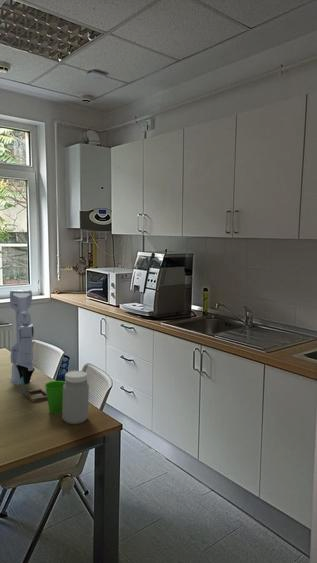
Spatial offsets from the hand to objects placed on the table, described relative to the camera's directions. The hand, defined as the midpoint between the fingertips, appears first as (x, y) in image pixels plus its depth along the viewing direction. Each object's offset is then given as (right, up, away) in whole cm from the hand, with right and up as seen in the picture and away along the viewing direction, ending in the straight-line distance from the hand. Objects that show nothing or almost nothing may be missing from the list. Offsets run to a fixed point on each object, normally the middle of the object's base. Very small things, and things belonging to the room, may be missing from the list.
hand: (25, 382), depth 182 cm
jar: (+27, -9, -24) cm, 38 cm away
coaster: (0, -5, 0) cm, 5 cm away
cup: (+18, -8, -18) cm, 26 cm away
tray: (+7, -6, -5) cm, 10 cm away
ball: (0, -1, 0) cm, 1 cm away
